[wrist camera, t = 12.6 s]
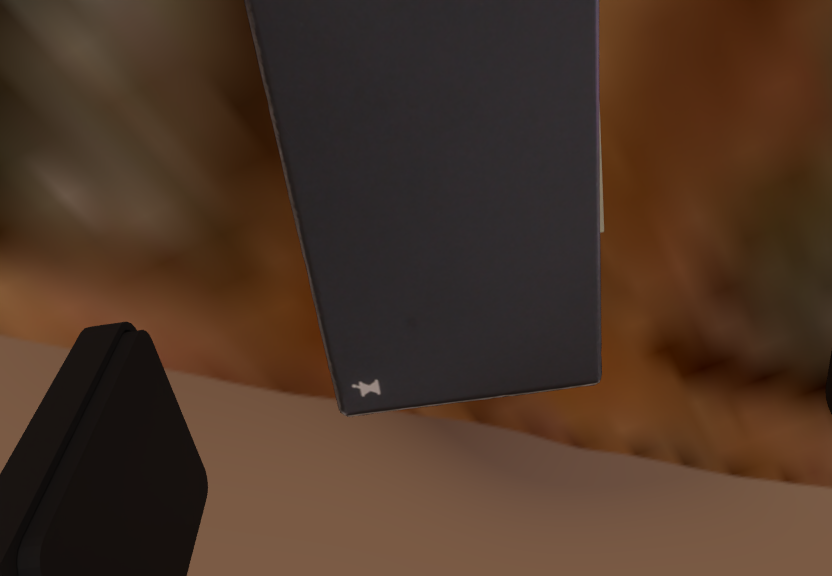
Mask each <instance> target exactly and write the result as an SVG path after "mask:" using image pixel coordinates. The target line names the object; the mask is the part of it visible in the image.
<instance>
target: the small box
mask: <svg viewBox="0 0 832 576" xmlns="http://www.w3.org/2000/svg"><path fill="white" fill-rule="evenodd" d="M244 3H245V7H246V11H247V16H248V20H249V24H250V29H251V33H252V38H253V42H254V47H255V51H256V56H257V60H258V65H259V69H260V73H261V77H262V81H263V85H264V89H265V93H266V97H267V100H268V107H269V112H270V116H271V120H272V124H273V128H274V133H275V138H276V142H277V146H278V150H279V154H280V158H281V163H282V168H283V172H284V177H285V182H286V186H287V191H288V195H289V199H290V203H291V207H292V211H293V216H294V220H295V225H296V230H297V233H298V236H299V240H300V245H301V250H302V254H303V258H304V261H305V265H306V269H307V273H308V278H309V283H310V288H311V292H312V297H313V301H314V305H315V309H316V313H317V318H318V323H319V328H320V332H321V336H322V340H323V344H324V349H325V353H326V357H327V360H328V367H329V370H330V372H331V378H332V382H333V386H334V390H335V395H336V400H337V404H338V408H339V410H340V412H341V413H342V414H343V415H345V416H348V417H353V416H360V415H368V414H373V413H382V412H388V411H396V410H404V409H411V408H419V407H428V406H438V405H443V404H450V403H459V402H467V401H474V400H484V399H491V398H497V397H506V396H517V395H523V394H531V393H538V392H546V391H555V390H561V389H568V388H575V387H581V386H592V385H596V384H597V383H599V382H600V380H601V375H602V362H601V268H600V139H599V0H244Z"/></svg>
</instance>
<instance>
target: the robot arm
mask: <svg viewBox="0 0 832 576" xmlns="http://www.w3.org/2000/svg"><path fill="white" fill-rule="evenodd" d="M826 400H827V404H828V407H829V410H830V412H831V414H832V352H831V358H830V364H829V371H828V377H827V383H826ZM207 493H208V482H207V475H206V471H205V468H204V466H203V463H202V461H201V458H200V456H199V454H198V451H197V449H196V446H195V444H194V442H193V439H192V437H191V434H190V432H189V429H188V427H187V424H186V422H185V419H184V417H183V415H182V412H181V410H180V407H179V405H178V402H177V400H176V398H175V395H174V393H173V390H172V388H171V385H170V383H169V380H168V378H167V375H166V373H165V371H164V368H163V366H162V363H161V361H160V358H159V356H158V354H157V351H156V349H155V346H154V344H153V341H152V339H151V337H150V335H149V334H148V333H147V332H146V331H144V330H139V331H137V330H136V328H135V327H134V326H133V325H132V324H131V323H129V322H121V323H114V324H107V325H100V326H93V327H88V328H85V329H84V330H83V331H82V332H81V333H80V335H79V337H78V338H77V340H76V342H75V344H74V345H73V347H72V349H71V351H70V353H69V355H68V356H67V358H66V360H65V361H64V363H63V365H62V367H61V368H60V370H59V372H58V374H57V375H56V377H55V379H54V381H53V383H52V384H51V386H50V388H49V389H48V391H47V393H46V395H45V397H44V398H43V400H42V402H41V404H40V405H39V407H38V409H37V411H36V412H35V414H34V416H33V418H32V419H31V421H30V423H29V425H28V426H27V428H26V430H25V432H24V433H23V435H22V437H21V439H20V441H19V442H18V444H17V446H16V448H15V449H14V451H13V453H12V455H11V456H10V458H9V460H8V462H7V463H6V465H5V467H4V469H3V470H2V472H1V474H0V576H187V572H188V568H189V564H190V560H191V556H192V552H193V549H194V545H195V541H196V537H197V533H198V529H199V525H200V522H201V517H202V514H203V510H204V506H205V502H206V498H207Z"/></svg>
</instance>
